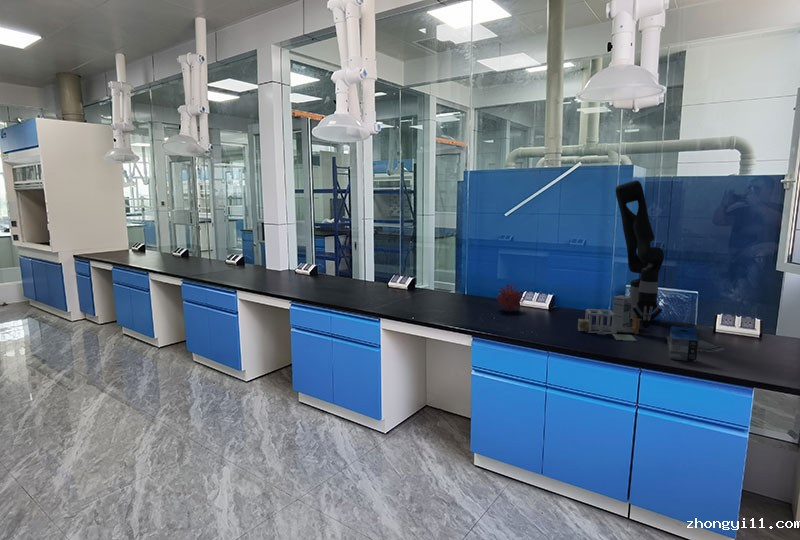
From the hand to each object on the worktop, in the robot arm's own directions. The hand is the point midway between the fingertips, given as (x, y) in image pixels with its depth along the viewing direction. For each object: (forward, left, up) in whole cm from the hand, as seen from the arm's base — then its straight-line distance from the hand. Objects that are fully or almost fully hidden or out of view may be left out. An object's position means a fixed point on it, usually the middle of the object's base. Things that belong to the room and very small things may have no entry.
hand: (645, 327), depth 208 cm
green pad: (+11, +10, -3) cm, 15 cm away
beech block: (+26, 0, -3) cm, 26 cm away
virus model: (+60, -32, -3) cm, 68 cm away
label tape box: (-3, +34, -3) cm, 34 cm away
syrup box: (+7, -14, -3) cm, 16 cm away
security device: (-16, +14, -4) cm, 22 cm away
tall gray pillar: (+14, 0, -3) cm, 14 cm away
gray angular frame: (+20, 0, -3) cm, 20 cm away
